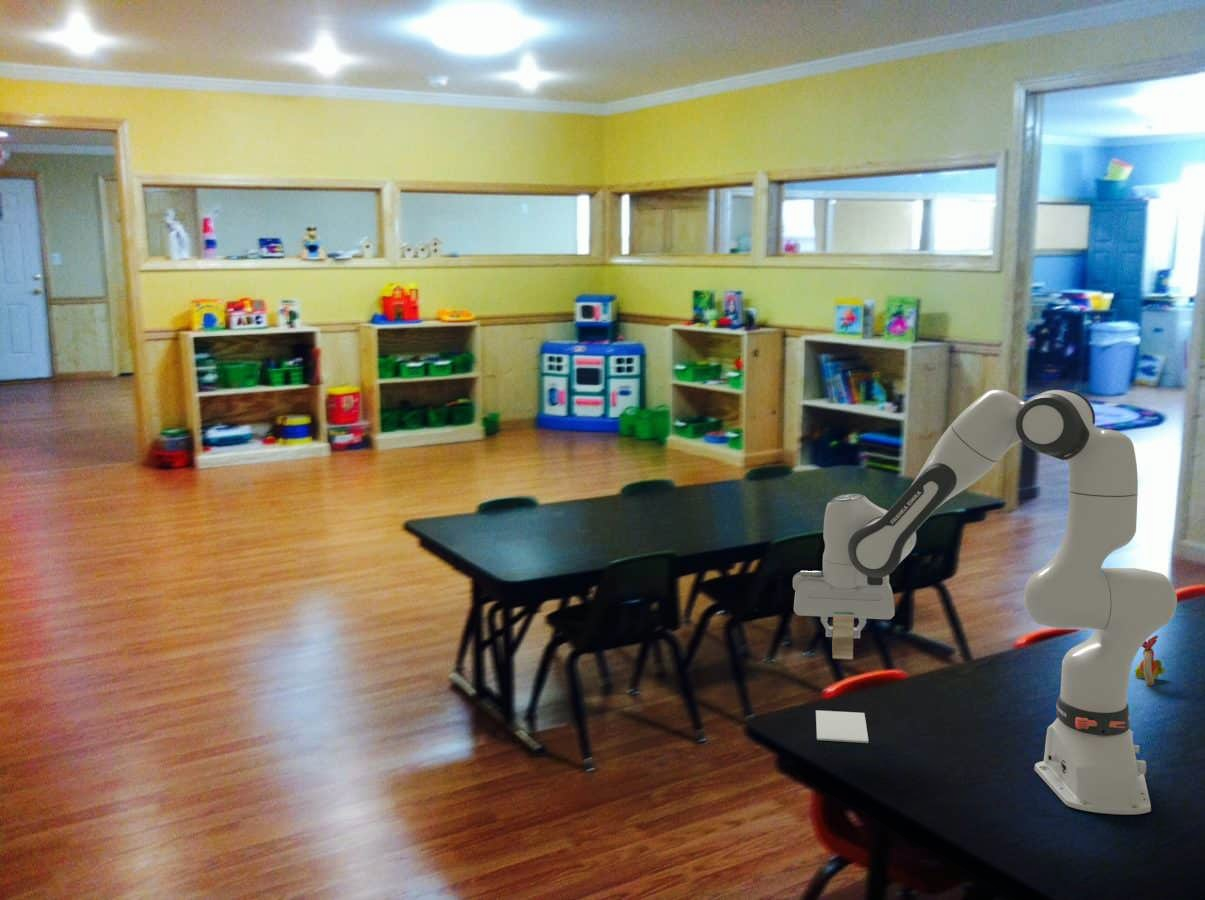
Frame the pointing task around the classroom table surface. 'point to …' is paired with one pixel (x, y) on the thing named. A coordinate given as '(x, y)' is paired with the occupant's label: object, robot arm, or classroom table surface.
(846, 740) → the grey mat
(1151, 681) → the bird rattle
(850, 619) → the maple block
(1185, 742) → the classroom table surface
